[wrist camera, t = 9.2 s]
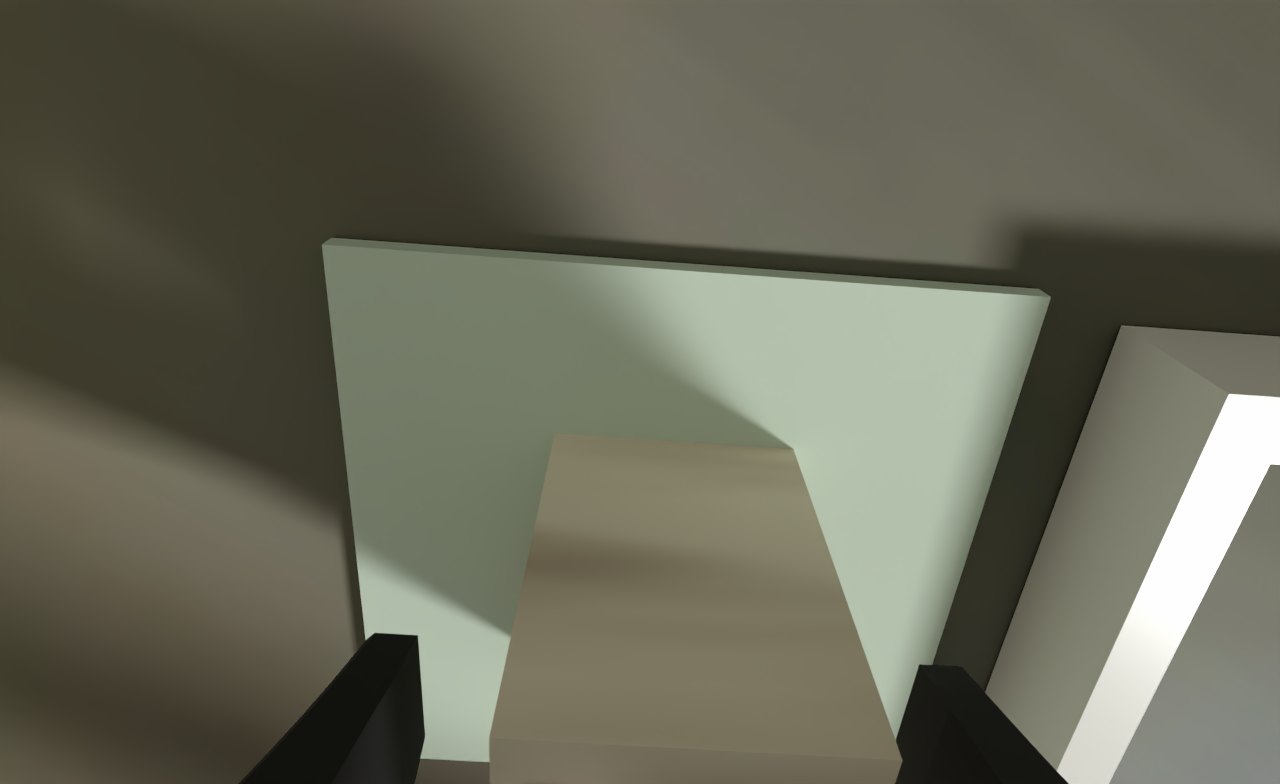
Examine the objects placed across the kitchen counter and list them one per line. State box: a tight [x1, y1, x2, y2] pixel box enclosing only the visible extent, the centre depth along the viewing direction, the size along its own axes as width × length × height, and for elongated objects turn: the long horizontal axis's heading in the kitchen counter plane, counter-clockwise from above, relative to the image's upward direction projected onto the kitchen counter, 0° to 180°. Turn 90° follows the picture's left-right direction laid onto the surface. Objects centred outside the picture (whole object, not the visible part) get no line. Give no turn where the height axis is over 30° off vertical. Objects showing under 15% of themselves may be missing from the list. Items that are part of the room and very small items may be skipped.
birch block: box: [489, 433, 903, 784], centre depth 11 cm, size 5×4×6 cm
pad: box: [322, 238, 1051, 762], centre depth 14 cm, size 11×11×1 cm
